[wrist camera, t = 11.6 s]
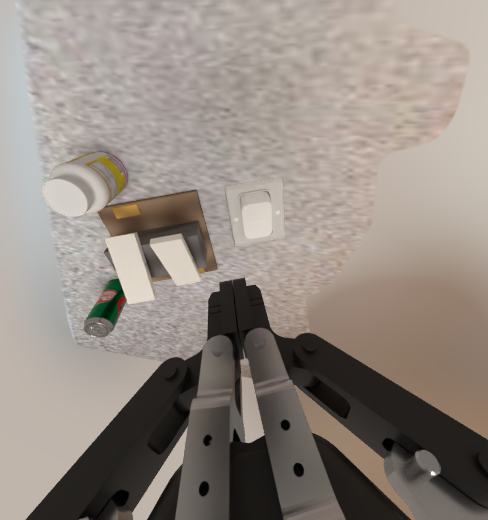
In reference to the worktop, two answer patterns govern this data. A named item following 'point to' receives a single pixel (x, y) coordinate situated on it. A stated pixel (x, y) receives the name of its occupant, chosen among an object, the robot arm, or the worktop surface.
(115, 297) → the soda can
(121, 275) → the block
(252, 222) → the light switch
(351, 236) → the worktop surface
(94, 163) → the supplement bottle
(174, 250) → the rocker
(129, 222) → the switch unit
